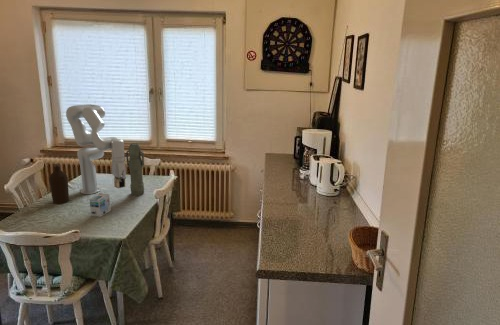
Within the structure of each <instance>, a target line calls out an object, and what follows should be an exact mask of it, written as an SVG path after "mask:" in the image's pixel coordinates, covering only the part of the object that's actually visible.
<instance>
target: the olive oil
mask: <svg viewBox="0 0 500 325" xmlns="http://www.w3.org/2000/svg"><path fill="white" fill-rule="evenodd" d="M68 179H69V178H68V175H67V174H66V173H65V172H64V171H62V170H61V166H60V163H55V164H53V172H52V173H51V174H50V175H49V177H48V183H49V187H50V192H51V198H52V203H53V204H54V205H62V204H66V203H68V202H69V201H70V195H69V182H68V181H69V180H68Z"/></svg>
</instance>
